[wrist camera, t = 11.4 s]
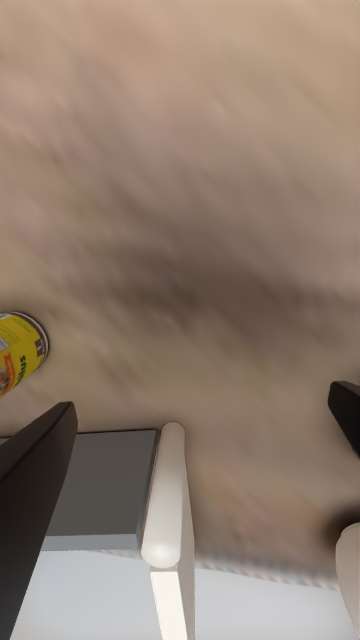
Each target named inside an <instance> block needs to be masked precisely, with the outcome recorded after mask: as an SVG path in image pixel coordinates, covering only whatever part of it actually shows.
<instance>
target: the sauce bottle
mask: <svg viewBox="0 0 360 640" xmlns="http://www.w3.org/2000/svg"><path fill="white" fill-rule="evenodd" d="M336 571H337V577H338V582H339V586H340V590H341V593H342V596H343V599H344V602H345V605H346V608H347V611H348V613H349V616H350V619H351V621H352V624H353V626H354V628H355V630H356V633H357V635H358V637H359V639H360V523H355V524H352V525H350V526H348V527H347V528H345V529H344V530H343V531H342V533H341V536H340V538H339V540H338V541H337V544H336Z"/></svg>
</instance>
